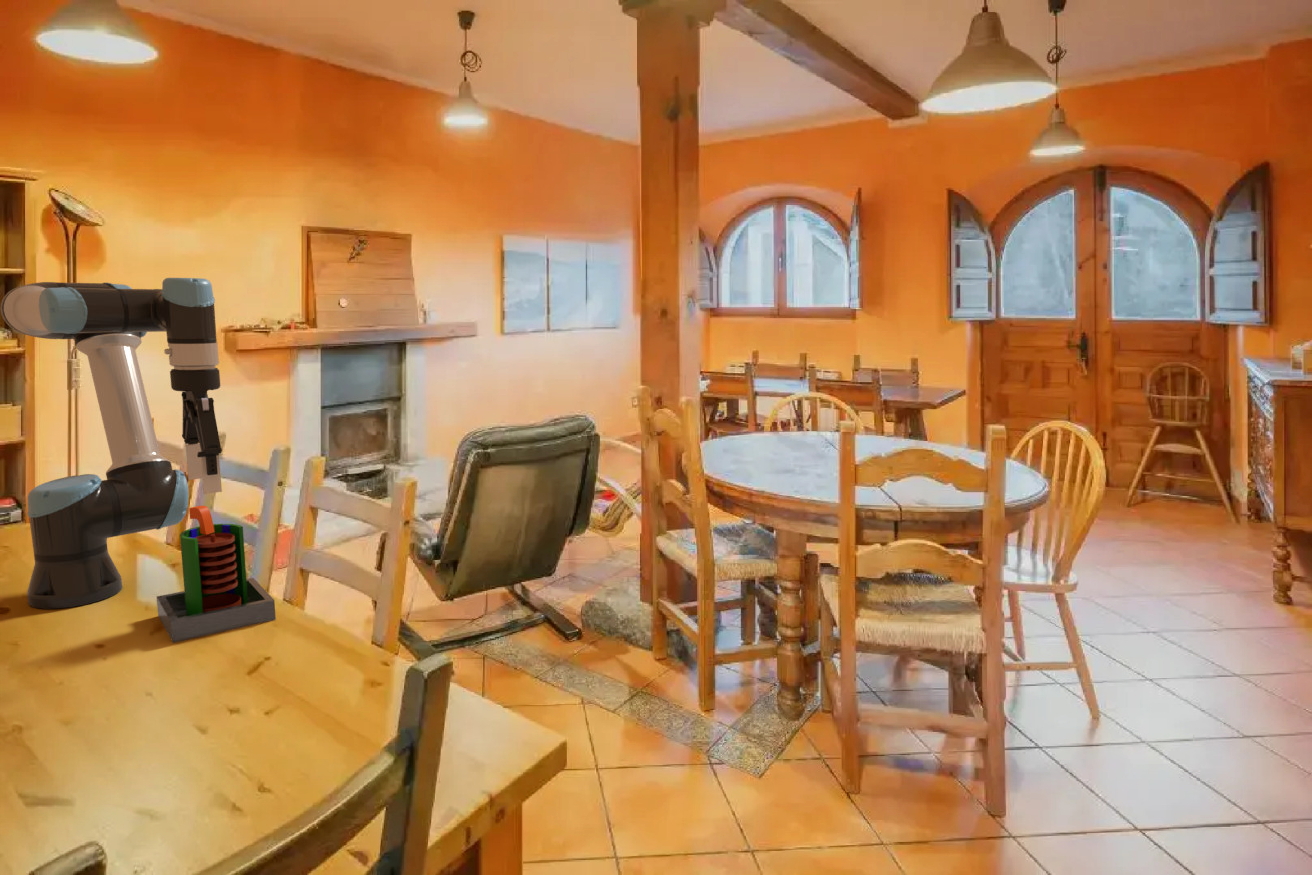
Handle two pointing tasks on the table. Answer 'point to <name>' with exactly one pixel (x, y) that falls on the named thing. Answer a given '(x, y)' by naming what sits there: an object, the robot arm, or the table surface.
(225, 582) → the motor
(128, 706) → the table surface
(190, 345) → the robot arm
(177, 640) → the tray
